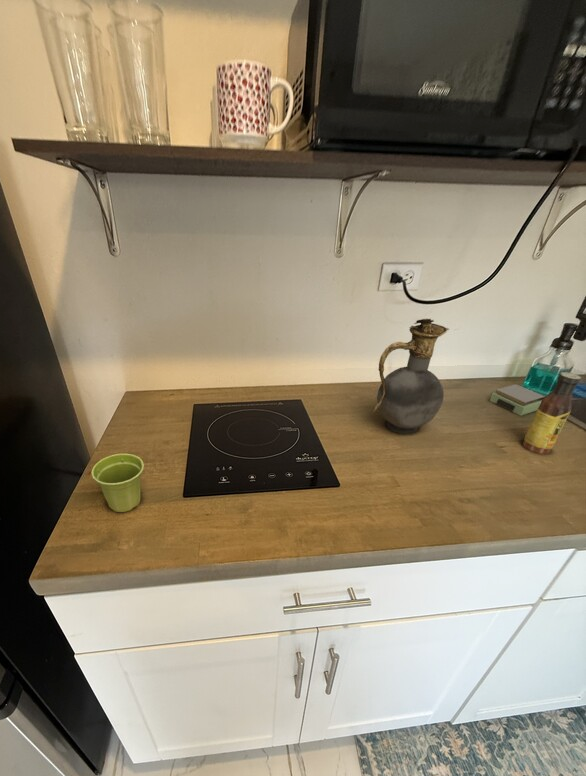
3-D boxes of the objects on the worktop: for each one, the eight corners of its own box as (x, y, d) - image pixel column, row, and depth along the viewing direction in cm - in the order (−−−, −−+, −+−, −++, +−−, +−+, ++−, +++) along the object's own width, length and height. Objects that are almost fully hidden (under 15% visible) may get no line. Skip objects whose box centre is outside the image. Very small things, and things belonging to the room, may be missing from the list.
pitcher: (439, 433, 103) (475, 321, 87) (376, 445, 98) (403, 327, 81) (413, 414, 111) (442, 308, 95) (355, 423, 106) (374, 313, 90)
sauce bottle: (548, 458, 95) (587, 384, 84) (519, 449, 98) (553, 376, 87) (551, 446, 99) (588, 374, 88) (523, 438, 102) (556, 367, 91)
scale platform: (514, 387, 121) (515, 384, 121) (543, 399, 114) (545, 396, 114) (495, 392, 118) (496, 389, 117) (524, 405, 111) (525, 402, 110)
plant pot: (151, 485, 82) (146, 451, 78) (146, 516, 75) (140, 481, 70) (105, 488, 81) (97, 454, 76) (96, 521, 73) (86, 485, 69)
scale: (510, 395, 123) (513, 387, 122) (541, 409, 116) (545, 400, 114) (488, 402, 119) (491, 393, 118) (519, 416, 112) (523, 407, 110)
